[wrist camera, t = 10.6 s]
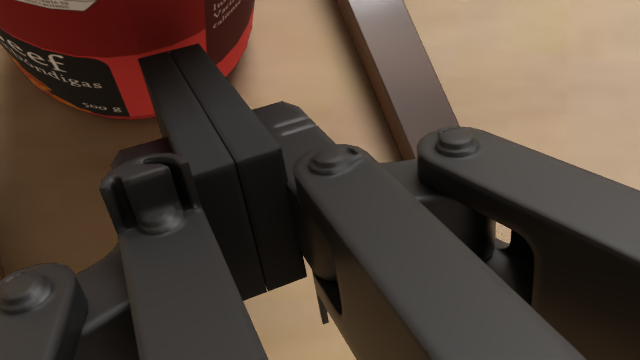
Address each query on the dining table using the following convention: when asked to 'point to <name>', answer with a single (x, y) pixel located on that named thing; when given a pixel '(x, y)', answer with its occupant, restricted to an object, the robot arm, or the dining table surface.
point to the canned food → (115, 45)
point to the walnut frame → (396, 71)
